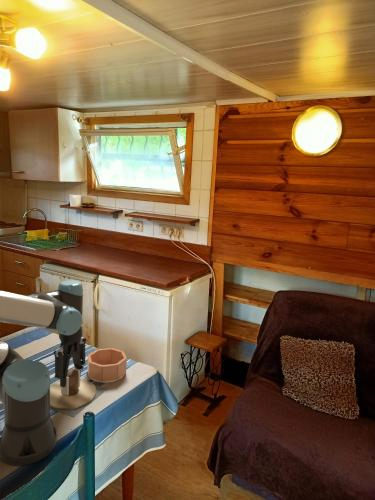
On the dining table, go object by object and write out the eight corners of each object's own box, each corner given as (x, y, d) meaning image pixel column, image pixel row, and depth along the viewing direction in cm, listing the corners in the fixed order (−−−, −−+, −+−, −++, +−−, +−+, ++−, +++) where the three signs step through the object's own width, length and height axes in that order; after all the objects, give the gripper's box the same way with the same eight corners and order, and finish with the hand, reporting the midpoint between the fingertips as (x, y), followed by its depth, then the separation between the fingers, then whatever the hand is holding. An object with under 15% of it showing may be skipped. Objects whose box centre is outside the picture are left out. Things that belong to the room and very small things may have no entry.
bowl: (111, 387, 135) (111, 369, 133) (80, 376, 140) (80, 359, 139) (131, 370, 147) (132, 353, 146) (103, 361, 153) (103, 345, 151)
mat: (73, 418, 117) (73, 417, 116) (30, 401, 124) (30, 400, 123) (107, 390, 133) (107, 389, 133) (68, 376, 140) (68, 375, 140)
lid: (73, 415, 117) (73, 392, 116) (33, 399, 124) (32, 378, 122) (105, 389, 132) (106, 368, 131) (68, 376, 139) (68, 356, 137)
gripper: (60, 339, 114) (60, 407, 118) (96, 320, 130) (95, 380, 134) (41, 333, 117) (42, 400, 121) (79, 315, 133) (79, 375, 137)
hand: (70, 389), depth 128 cm, fingers closed on lid, 5 cm apart
